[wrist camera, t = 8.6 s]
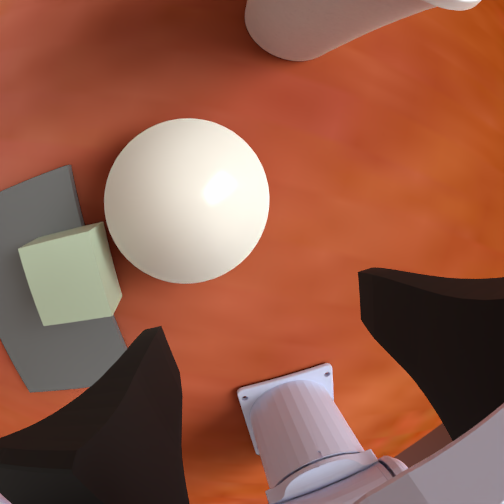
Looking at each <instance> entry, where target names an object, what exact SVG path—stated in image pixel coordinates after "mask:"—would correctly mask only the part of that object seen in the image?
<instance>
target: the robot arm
mask: <svg viewBox="0 0 504 504" xmlns="http://www.w3.org/2000/svg"><path fill="white" fill-rule="evenodd" d="M358 277H359V291H360V308H361V320H362V322H363V323H364V325H365V326H366V328H367V329H368V331H369V332H370V333H371V335H372V336H373V337H374V339H375V340H376V341H377V342H378V343H379V344H380V345H381V346H382V347H383V348H384V349H385V350H386V351H387V352H388V353H389V354H390V355H391V356H392V357H393V358H394V359H395V360H396V361H397V362H398V363H399V364H400V365H401V366H402V367H403V368H404V370H405V371H406V372H407V373H408V374H409V375H410V376H411V377H412V378H413V379H414V381H415V382H416V383H417V385H418V386H419V387H420V389H421V390H422V392H423V393H424V394H425V396H426V397H427V399H428V400H429V402H430V403H431V405H432V406H433V408H434V409H435V411H436V412H437V414H438V415H439V417H440V419H441V420H442V422H443V424H444V426H445V427H446V429H447V431H448V433H449V435H450V436H451V438H452V440H453V442H451V443H450V444H448V445H447V446H445V447H444V448H442V449H440V450H439V451H437V452H436V453H434V454H432V455H431V456H429V457H427V458H426V459H424V460H422V461H421V462H419V463H417V464H415V465H414V466H412V467H410V468H408V467H407V466H406V465H405V464H404V463H403V462H401V461H400V460H398V459H395V458H392V457H390V456H383V457H381V458H379V459H377V458H376V456H375V455H374V453H373V451H372V450H371V449H368V450H366V451H364V450H363V448H362V446H361V445H360V443H359V442H358V440H357V438H356V437H355V435H354V433H353V432H352V430H351V429H350V427H349V425H348V424H347V422H346V420H345V419H344V417H343V416H342V414H341V412H340V411H339V409H338V407H337V406H336V404H335V403H334V396H333V373H332V366H331V365H330V364H329V363H325V364H322V365H319V366H315V367H312V368H309V369H306V370H303V371H299V372H296V373H293V374H289V375H286V376H282V377H279V378H275V379H272V380H268V381H264V382H260V383H257V384H253V385H249V386H245V387H241V388H239V389H238V390H237V395H238V398H239V402H240V405H241V408H242V411H243V415H244V418H245V421H246V424H247V427H248V430H249V433H250V437H251V440H252V443H253V446H254V449H255V452H256V454H257V455H260V457H261V460H262V464H263V467H264V471H265V474H266V478H267V481H268V484H269V488H270V489H269V490H266V491H265V492H266V496H267V499H268V502H269V504H504V277H502V278H489V279H457V278H444V277H436V276H429V275H422V274H416V273H410V272H404V271H398V270H392V269H385V268H370V269H366V270H363V271H360V272H358ZM327 372H328V373H327ZM325 373H327V374H325ZM244 396H247V397H245V398H242V397H244ZM181 437H182V387H181V379H180V372H179V369H178V367H177V364H176V362H175V360H174V357H173V355H172V352H171V350H170V347H169V345H168V342H167V340H166V337H165V335H164V332H163V329H162V327H161V326H159V327H155V328H151V329H146V330H144V331H143V332H142V333H141V334H140V335H139V336H138V337H137V338H136V339H135V340H134V342H133V343H132V344H131V345H130V346H129V347H128V349H127V350H126V351H125V352H124V353H123V354H122V355H121V357H120V358H119V359H118V360H117V361H116V362H115V363H114V364H113V365H112V366H111V367H110V368H109V369H108V370H107V371H106V373H105V374H104V375H103V376H102V377H101V378H100V379H99V380H98V381H96V382H95V383H94V384H93V385H92V386H91V387H90V388H88V389H87V390H86V391H85V392H84V393H82V394H81V395H80V396H79V397H77V398H76V399H74V400H73V401H72V402H70V403H69V404H67V405H66V406H64V407H63V408H61V409H60V410H59V411H57V412H55V413H54V414H52V415H50V416H48V417H47V418H45V419H43V420H41V421H39V422H37V423H35V424H33V425H31V426H29V427H27V428H25V429H22V430H20V431H17V432H15V433H12V434H10V435H7V436H4V437H1V438H0V493H1V494H2V495H3V496H4V497H5V498H6V499H7V500H9V501H10V502H11V503H12V504H189V499H188V494H187V488H186V482H185V476H184V469H183V461H182V448H181Z"/></svg>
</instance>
